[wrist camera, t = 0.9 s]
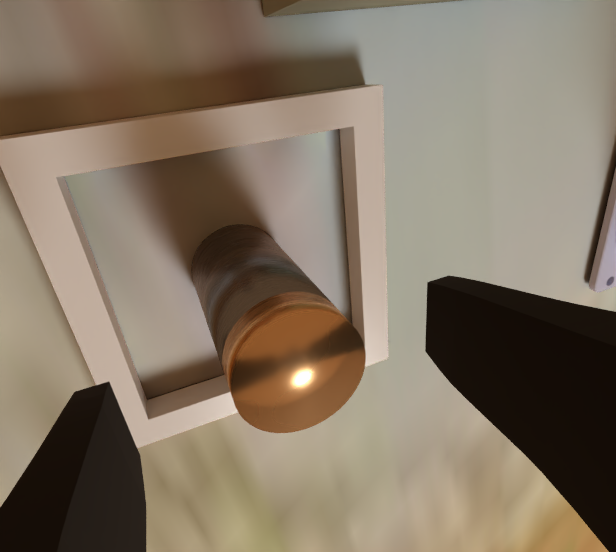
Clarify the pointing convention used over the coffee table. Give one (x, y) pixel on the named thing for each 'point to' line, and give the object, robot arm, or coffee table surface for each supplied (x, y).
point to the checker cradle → (178, 142)
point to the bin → (330, 5)
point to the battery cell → (274, 332)
